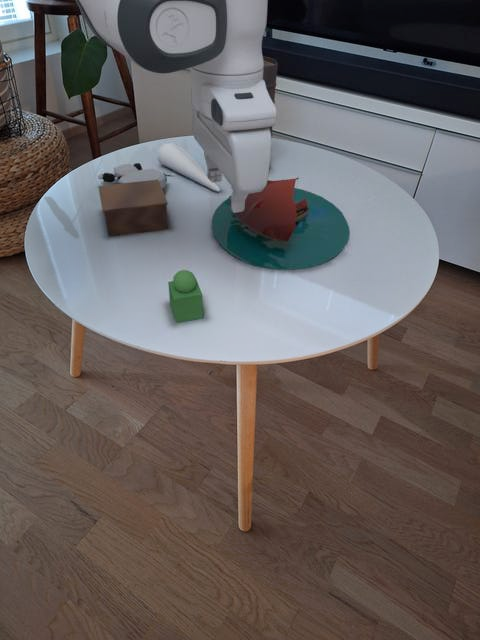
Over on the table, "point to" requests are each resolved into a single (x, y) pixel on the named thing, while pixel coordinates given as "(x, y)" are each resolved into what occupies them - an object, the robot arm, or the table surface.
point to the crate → (134, 207)
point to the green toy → (185, 297)
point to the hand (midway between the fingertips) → (224, 194)
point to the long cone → (184, 165)
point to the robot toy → (134, 174)
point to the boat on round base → (282, 228)
